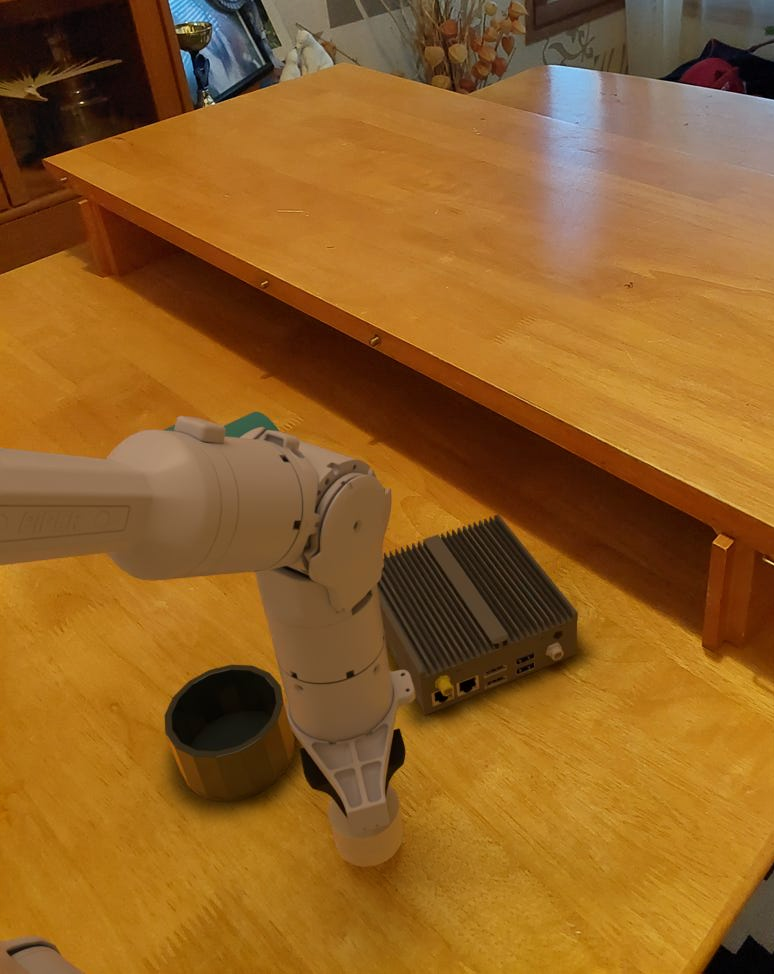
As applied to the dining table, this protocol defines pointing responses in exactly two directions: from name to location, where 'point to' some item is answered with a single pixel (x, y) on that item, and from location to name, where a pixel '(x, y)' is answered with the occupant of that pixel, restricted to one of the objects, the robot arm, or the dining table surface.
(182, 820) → the dining table surface
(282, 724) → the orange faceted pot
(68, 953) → the dining table surface
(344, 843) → the brush
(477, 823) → the dining table surface
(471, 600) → the electronic device
